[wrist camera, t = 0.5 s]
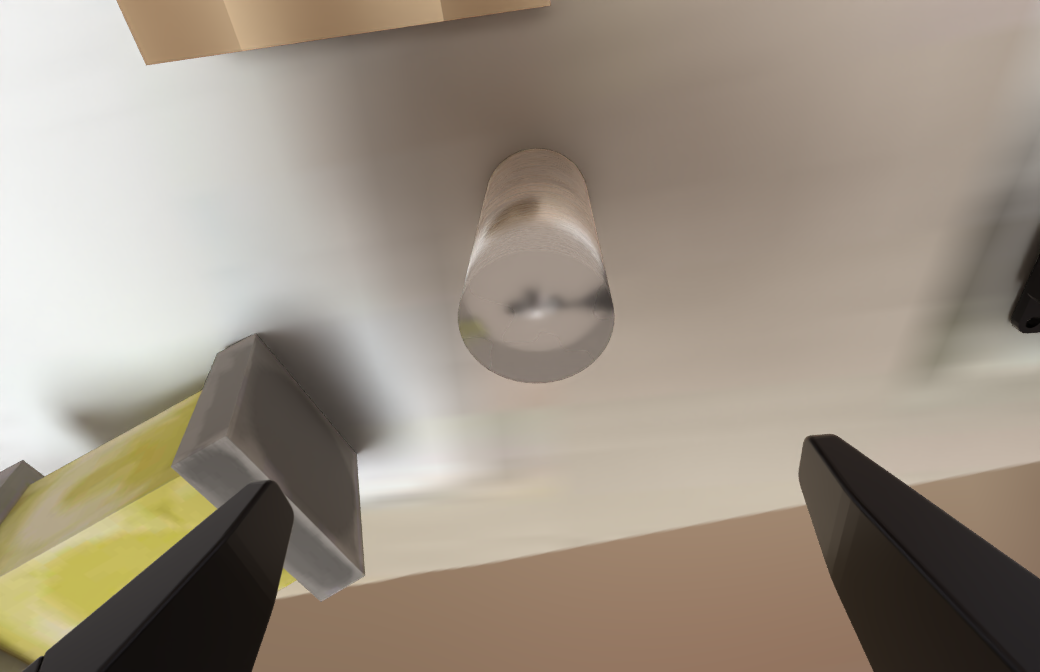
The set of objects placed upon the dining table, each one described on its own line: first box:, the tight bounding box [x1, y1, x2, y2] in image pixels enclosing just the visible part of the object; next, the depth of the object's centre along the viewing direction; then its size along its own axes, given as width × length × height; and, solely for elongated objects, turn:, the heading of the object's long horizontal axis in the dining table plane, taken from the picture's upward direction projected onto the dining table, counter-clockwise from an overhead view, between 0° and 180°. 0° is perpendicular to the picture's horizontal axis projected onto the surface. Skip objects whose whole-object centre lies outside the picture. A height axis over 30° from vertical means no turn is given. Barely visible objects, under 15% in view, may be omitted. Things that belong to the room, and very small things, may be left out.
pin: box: [458, 148, 614, 383], centre depth 16 cm, size 4×4×8 cm
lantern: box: [0, 334, 365, 672], centre depth 25 cm, size 8×17×30 cm
